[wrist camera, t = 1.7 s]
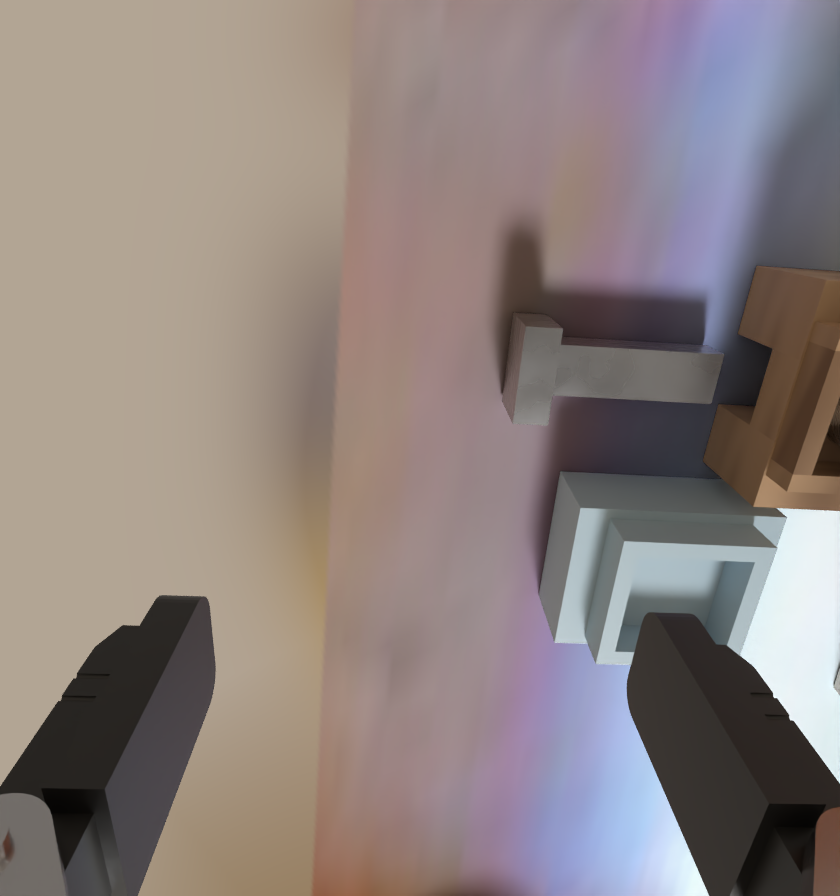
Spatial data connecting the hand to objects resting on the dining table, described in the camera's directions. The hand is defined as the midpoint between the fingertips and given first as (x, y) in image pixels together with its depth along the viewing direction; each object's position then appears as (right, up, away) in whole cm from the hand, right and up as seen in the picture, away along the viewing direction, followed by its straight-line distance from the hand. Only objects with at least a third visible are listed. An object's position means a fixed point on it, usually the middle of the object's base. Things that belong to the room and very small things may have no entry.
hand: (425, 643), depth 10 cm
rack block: (+12, -2, +23) cm, 26 cm away
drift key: (+10, +8, +19) cm, 23 cm away
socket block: (+19, +7, +19) cm, 28 cm away
